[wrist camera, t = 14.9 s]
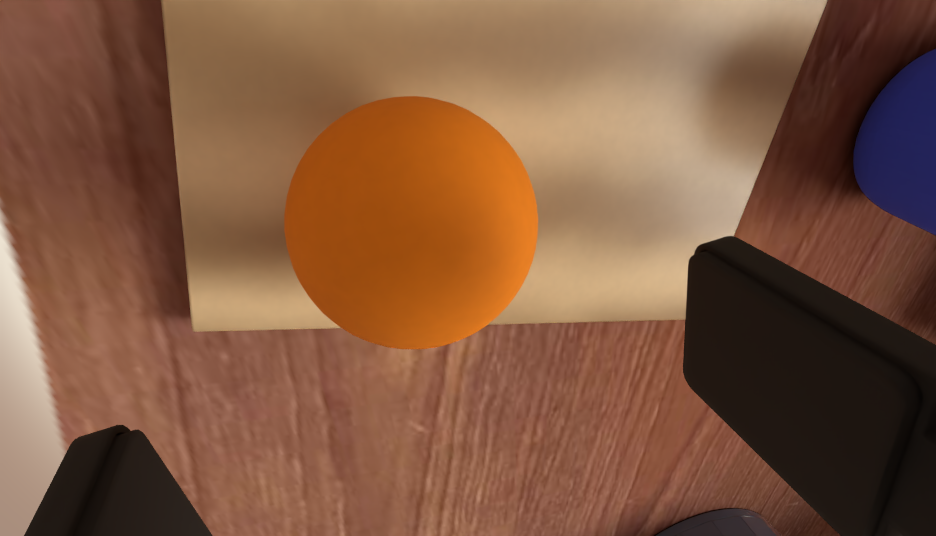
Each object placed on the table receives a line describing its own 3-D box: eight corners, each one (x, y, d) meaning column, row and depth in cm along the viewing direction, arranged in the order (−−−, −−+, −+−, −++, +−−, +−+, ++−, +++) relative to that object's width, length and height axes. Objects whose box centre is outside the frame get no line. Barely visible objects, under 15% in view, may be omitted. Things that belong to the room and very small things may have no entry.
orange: (309, 325, 17) (366, 446, 11) (233, 123, 14) (259, 155, 8) (484, 257, 19) (601, 330, 13) (447, 69, 16) (577, 68, 11)
